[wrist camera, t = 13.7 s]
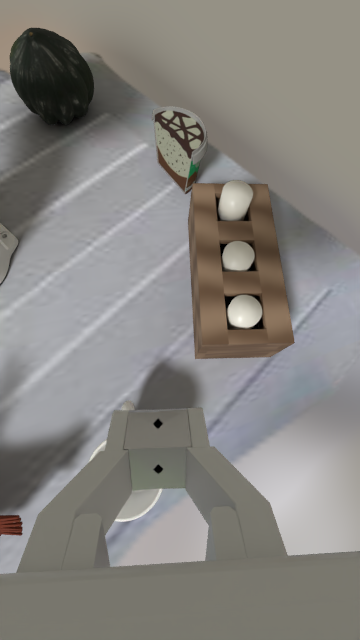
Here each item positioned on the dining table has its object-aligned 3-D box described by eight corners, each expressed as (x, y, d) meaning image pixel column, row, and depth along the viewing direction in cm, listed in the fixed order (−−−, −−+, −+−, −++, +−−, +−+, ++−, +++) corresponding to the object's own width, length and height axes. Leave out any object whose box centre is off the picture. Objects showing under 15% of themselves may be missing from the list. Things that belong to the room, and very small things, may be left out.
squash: (66, 42, 60) (-1, -16, 46) (118, 79, 58) (63, 30, 44) (44, 112, 66) (-22, 79, 52) (90, 148, 64) (34, 123, 50)
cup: (104, 499, 38) (84, 526, 28) (104, 405, 42) (86, 401, 32) (167, 491, 38) (167, 516, 29) (160, 400, 42) (159, 394, 33)
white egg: (253, 336, 42) (264, 325, 37) (223, 336, 41) (230, 326, 37) (249, 308, 43) (259, 294, 38) (220, 308, 43) (227, 294, 38)
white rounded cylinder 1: (245, 227, 45) (254, 204, 40) (217, 227, 44) (223, 204, 40) (242, 204, 46) (251, 180, 41) (215, 204, 46) (221, 179, 41)
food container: (214, 185, 56) (224, 138, 47) (189, 199, 55) (194, 154, 45) (178, 146, 59) (180, 94, 50) (153, 158, 58) (151, 107, 48)
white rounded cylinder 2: (246, 283, 44) (256, 267, 40) (218, 284, 44) (225, 267, 39) (243, 259, 46) (252, 240, 41) (216, 259, 46) (222, 240, 41)
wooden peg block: (270, 357, 45) (294, 342, 37) (195, 358, 44) (202, 344, 36) (251, 221, 54) (267, 184, 45) (188, 221, 53) (192, 183, 44)
